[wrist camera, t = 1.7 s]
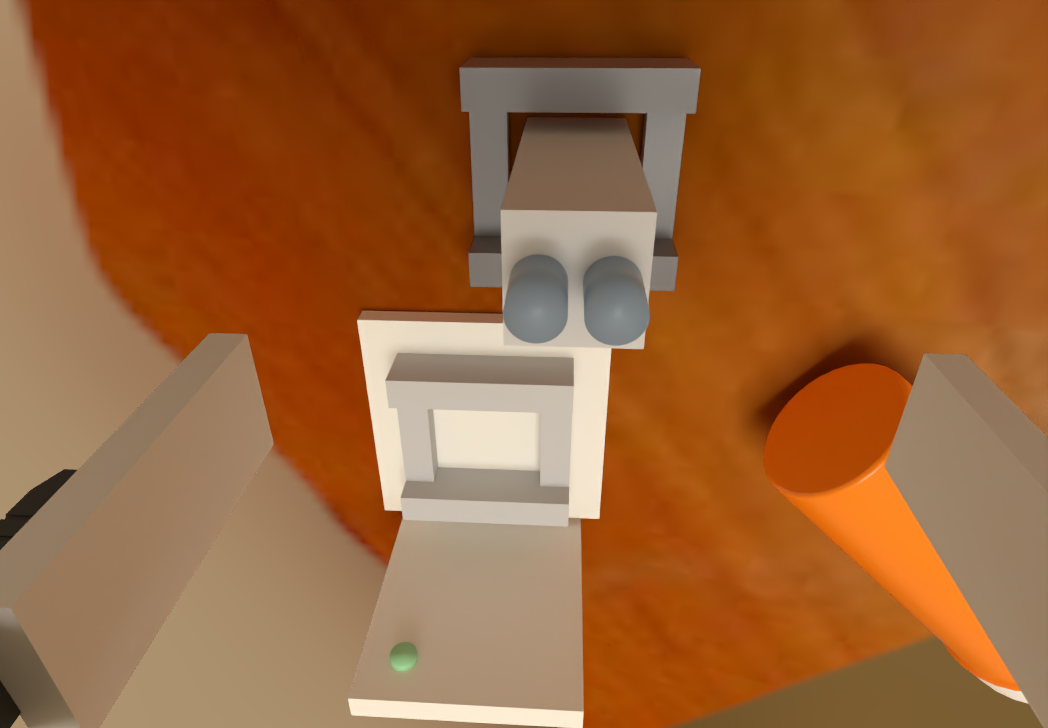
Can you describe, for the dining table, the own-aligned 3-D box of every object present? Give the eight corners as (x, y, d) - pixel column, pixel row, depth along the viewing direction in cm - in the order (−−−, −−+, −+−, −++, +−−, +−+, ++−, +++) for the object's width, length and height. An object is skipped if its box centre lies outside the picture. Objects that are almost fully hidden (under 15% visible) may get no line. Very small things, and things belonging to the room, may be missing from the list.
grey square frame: (470, 57, 27) (459, 67, 24) (688, 58, 26) (700, 68, 24) (478, 259, 31) (470, 286, 28) (665, 263, 31) (674, 291, 28)
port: (362, 310, 33) (266, 470, 22) (611, 316, 32) (630, 484, 22) (391, 518, 40) (328, 713, 29) (597, 527, 39) (605, 729, 29)
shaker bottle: (799, 559, 26) (1068, 772, 32) (985, 395, 24) (1237, 654, 30) (720, 448, 34) (945, 633, 40) (853, 319, 32) (1071, 533, 38)
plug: (527, 117, 28) (492, 236, 16) (625, 118, 27) (666, 240, 15) (527, 212, 30) (496, 382, 18) (619, 213, 30) (650, 387, 18)
